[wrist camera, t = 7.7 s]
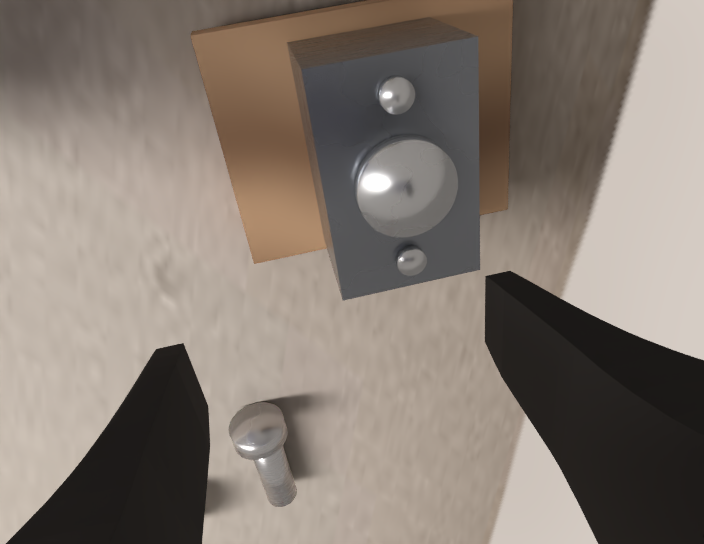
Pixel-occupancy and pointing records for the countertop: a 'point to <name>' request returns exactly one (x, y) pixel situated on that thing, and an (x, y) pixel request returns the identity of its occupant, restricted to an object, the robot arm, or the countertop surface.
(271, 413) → the bolt
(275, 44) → the stand
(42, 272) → the countertop surface
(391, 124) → the housing
